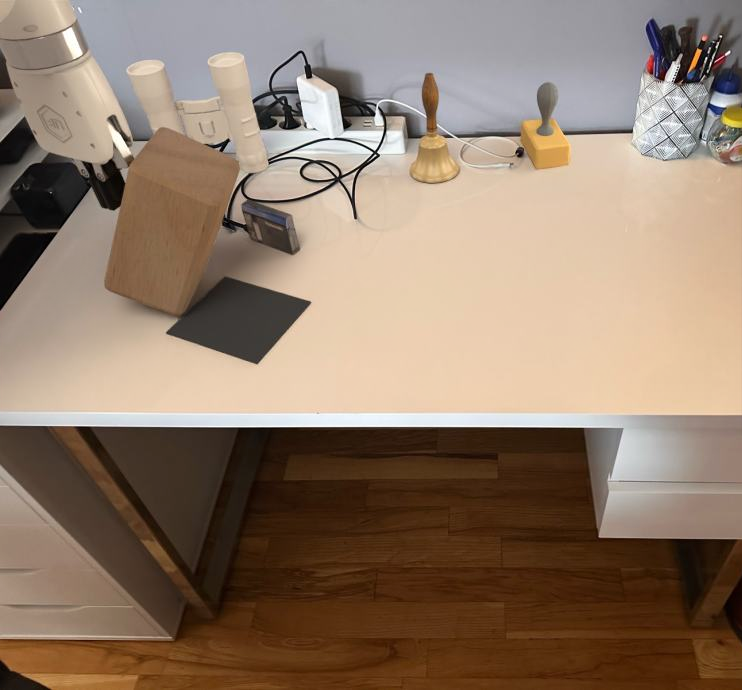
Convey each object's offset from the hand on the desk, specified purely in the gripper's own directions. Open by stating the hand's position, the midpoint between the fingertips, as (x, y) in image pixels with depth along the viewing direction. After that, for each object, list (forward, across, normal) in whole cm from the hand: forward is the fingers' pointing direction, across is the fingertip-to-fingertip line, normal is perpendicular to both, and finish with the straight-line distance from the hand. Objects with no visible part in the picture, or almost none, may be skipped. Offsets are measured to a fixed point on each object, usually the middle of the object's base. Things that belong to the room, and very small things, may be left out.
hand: (117, 203), depth 79 cm
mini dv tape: (+15, +7, +16) cm, 23 cm away
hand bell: (+15, +20, +43) cm, 50 cm away
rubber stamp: (+15, +36, +55) cm, 67 cm away
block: (+13, 0, 0) cm, 13 cm away
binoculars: (+15, -14, +30) cm, 36 cm away
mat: (+15, +12, +1) cm, 19 cm away
